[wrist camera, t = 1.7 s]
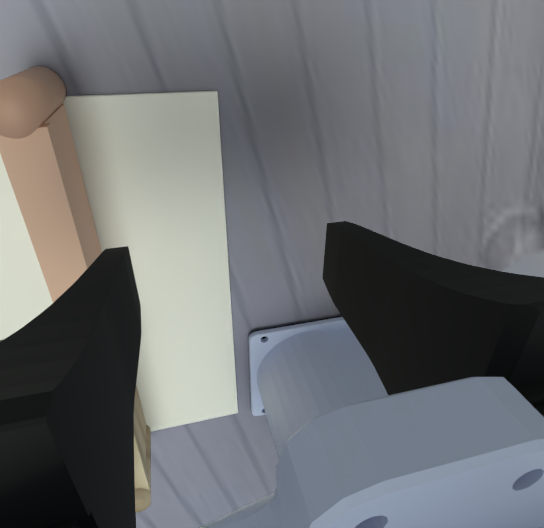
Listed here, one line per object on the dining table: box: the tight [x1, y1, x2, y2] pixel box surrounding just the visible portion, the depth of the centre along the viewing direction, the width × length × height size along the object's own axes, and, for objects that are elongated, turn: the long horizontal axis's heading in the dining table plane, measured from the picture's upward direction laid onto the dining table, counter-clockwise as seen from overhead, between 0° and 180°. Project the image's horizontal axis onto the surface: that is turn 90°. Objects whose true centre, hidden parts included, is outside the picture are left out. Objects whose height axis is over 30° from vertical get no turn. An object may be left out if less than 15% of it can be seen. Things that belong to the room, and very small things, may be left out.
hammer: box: [134, 386, 151, 513], centre depth 23 cm, size 2×11×6 cm, turn 179°
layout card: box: [0, 91, 238, 431], centre depth 22 cm, size 20×22×1 cm
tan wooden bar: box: [0, 66, 102, 303], centre depth 17 cm, size 2×12×5 cm, turn 179°
